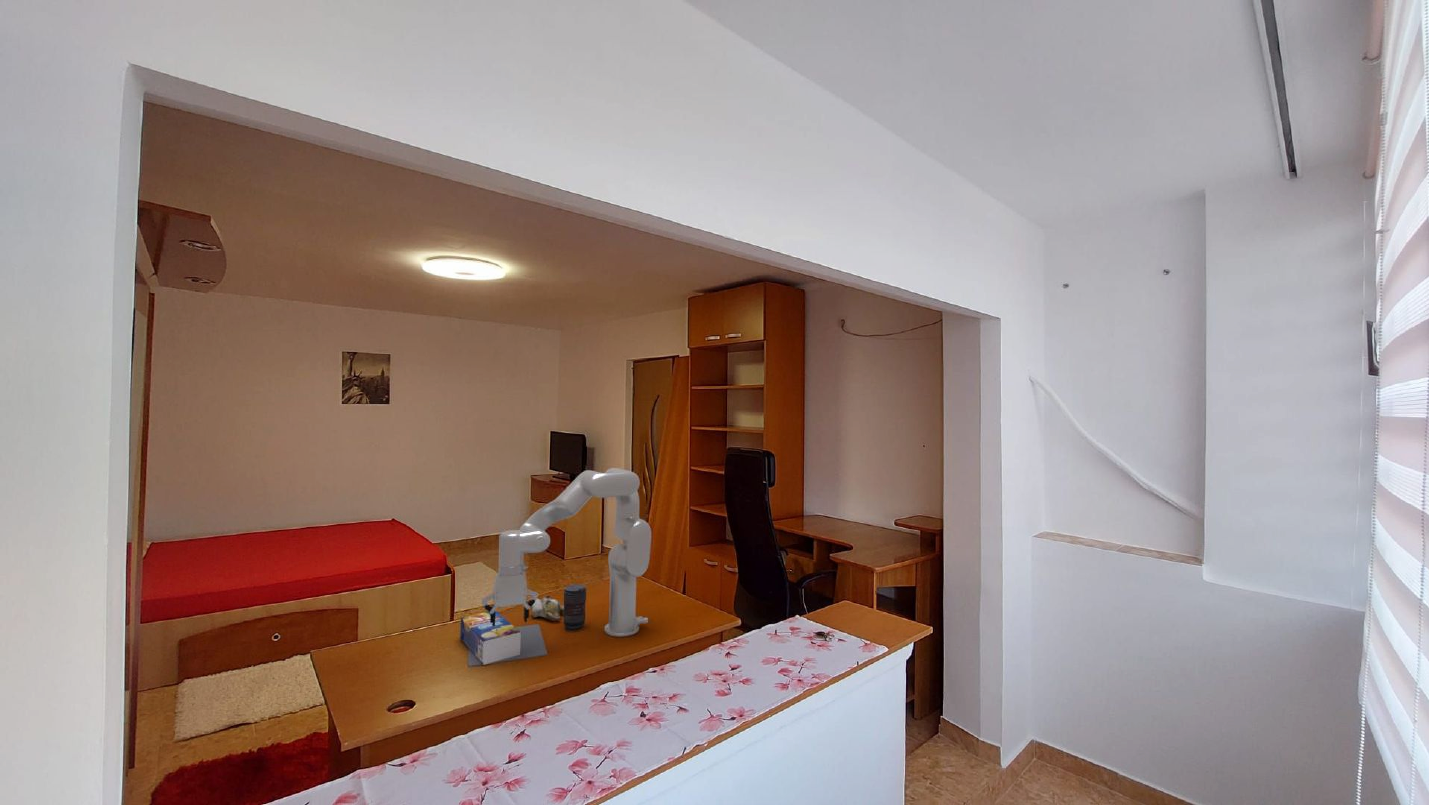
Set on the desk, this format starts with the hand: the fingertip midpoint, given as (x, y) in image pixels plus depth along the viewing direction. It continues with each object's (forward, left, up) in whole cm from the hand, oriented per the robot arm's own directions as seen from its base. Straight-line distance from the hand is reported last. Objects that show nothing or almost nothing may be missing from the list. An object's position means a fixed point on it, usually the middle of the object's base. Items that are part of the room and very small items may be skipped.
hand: (509, 622), depth 182 cm
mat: (0, -12, -12) cm, 17 cm away
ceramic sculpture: (-16, -32, -13) cm, 38 cm away
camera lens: (-24, -19, -12) cm, 33 cm away
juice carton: (+2, 0, -8) cm, 8 cm away
